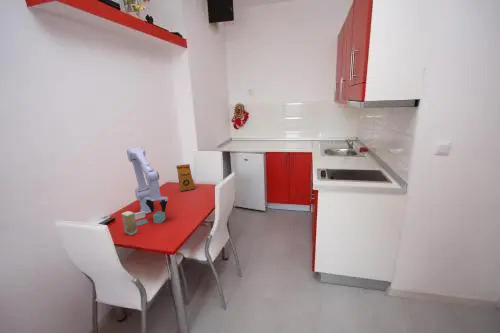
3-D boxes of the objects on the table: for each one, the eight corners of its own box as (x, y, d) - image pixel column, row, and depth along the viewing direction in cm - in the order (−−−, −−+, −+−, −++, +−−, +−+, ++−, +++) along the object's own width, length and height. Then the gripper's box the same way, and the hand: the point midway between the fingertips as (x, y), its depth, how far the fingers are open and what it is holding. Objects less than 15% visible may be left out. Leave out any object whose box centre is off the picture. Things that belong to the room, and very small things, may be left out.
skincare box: (124, 233, 139) (120, 213, 135) (131, 229, 142) (128, 210, 139) (131, 235, 135) (126, 215, 132) (138, 232, 138) (134, 212, 135)
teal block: (154, 222, 149) (152, 215, 148) (158, 218, 154) (157, 211, 153) (161, 222, 148) (160, 215, 147) (165, 219, 153) (164, 211, 152)
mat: (134, 222, 151) (134, 222, 151) (145, 219, 155) (145, 218, 155) (136, 226, 145) (136, 226, 145) (148, 223, 149) (148, 222, 149)
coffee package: (194, 190, 202) (191, 164, 197) (179, 192, 200) (175, 166, 194) (194, 186, 212) (191, 162, 206) (179, 188, 209) (176, 164, 204)
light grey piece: (125, 222, 152) (123, 216, 151) (145, 216, 159) (144, 210, 158) (128, 230, 142) (127, 223, 141) (149, 223, 148) (148, 217, 147)
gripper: (139, 193, 144) (143, 214, 147) (162, 193, 141) (165, 214, 144) (146, 189, 151) (150, 209, 154) (168, 189, 148) (171, 209, 151)
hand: (158, 211), depth 150 cm, fingers open, 7 cm apart
